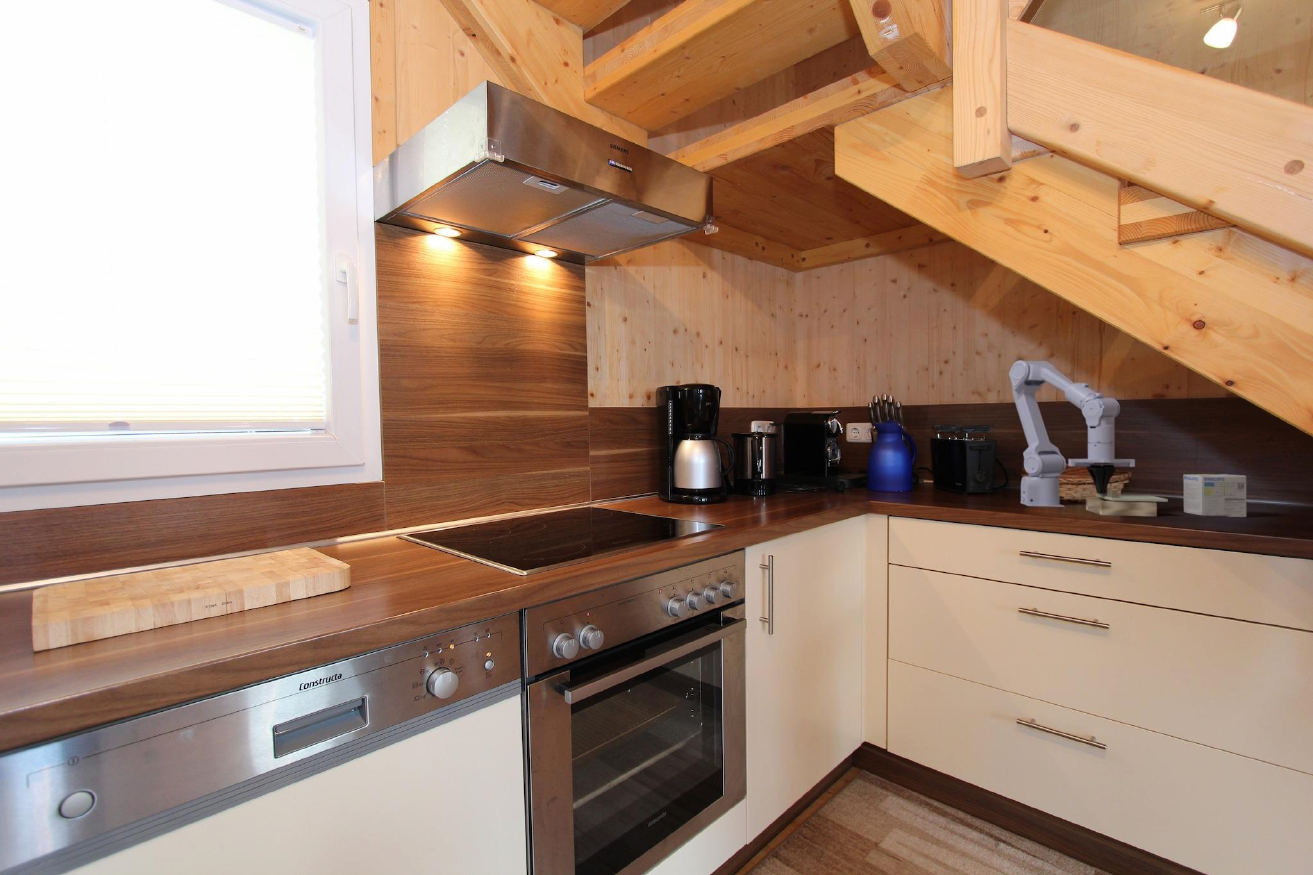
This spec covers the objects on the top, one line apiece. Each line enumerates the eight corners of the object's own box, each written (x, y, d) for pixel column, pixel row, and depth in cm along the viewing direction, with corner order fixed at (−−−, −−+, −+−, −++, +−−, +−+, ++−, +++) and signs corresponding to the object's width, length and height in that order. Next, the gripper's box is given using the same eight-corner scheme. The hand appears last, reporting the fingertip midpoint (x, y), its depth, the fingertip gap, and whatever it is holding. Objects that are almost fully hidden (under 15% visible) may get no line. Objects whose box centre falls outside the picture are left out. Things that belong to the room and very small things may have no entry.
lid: (1112, 500, 154) (1112, 490, 154) (1095, 496, 163) (1095, 486, 163) (1167, 501, 150) (1167, 491, 150) (1147, 497, 160) (1147, 487, 160)
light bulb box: (1225, 513, 157) (1225, 473, 157) (1248, 517, 150) (1248, 475, 150) (1181, 513, 158) (1181, 473, 158) (1202, 517, 151) (1202, 475, 151)
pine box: (1101, 516, 155) (1101, 501, 154) (1086, 511, 164) (1086, 497, 164) (1156, 518, 151) (1156, 502, 151) (1137, 512, 161) (1137, 498, 161)
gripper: (1075, 443, 157) (1075, 494, 157) (1140, 443, 153) (1140, 495, 153) (1065, 442, 164) (1065, 491, 164) (1127, 442, 159) (1127, 492, 160)
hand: (1101, 493), depth 159 cm, fingers closed
